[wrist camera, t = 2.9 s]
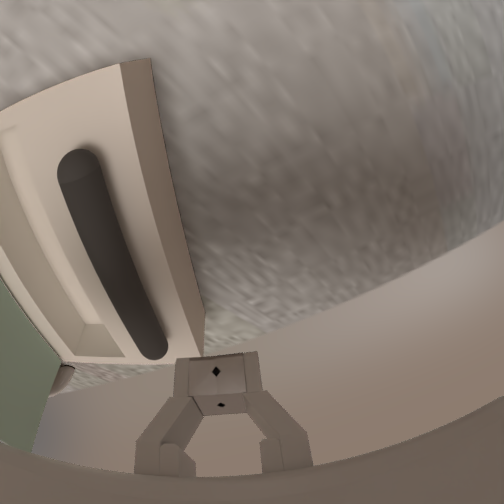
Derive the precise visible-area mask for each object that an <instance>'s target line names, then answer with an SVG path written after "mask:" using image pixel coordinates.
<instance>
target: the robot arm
mask: <svg viewBox="0 0 504 504" xmlns="http://www.w3.org/2000/svg"><path fill="white" fill-rule="evenodd" d="M238 413H247V414H248V415H249V416H250V418H251V419H252V420H253V422H254V423H255V424H256V425H257V426H258V428H259V429H260V430H261V431H262V432H263V434H264V435H265V436H266V437H267V439H263V440H262V441H261V442H260V453H261V463H262V472H263V473H262V474H252V475H239V476H221V477H196V463H195V461H193V460H192V459H191V458H190V457H189V456H188V455H187V454H186V453H185V452H184V450H185V448H186V446H187V445H188V443H189V441H190V439H191V438H192V436H193V434H194V433H195V431H196V429H197V428H198V426H199V424H200V422H201V420H202V419H203V416H209V415H222V414H238ZM0 504H504V396H501V397H499V398H497V399H495V400H493V401H492V402H490V403H488V404H486V405H484V406H482V407H481V408H479V409H477V410H475V411H473V412H471V413H469V414H467V415H465V416H463V417H461V418H459V419H457V420H455V421H452V422H450V423H448V424H446V425H444V426H441V427H439V428H437V429H434V430H432V431H430V432H427V433H425V434H422V435H419V436H417V437H414V438H412V439H409V440H407V441H403V442H401V443H398V444H395V445H392V446H389V447H386V448H383V449H379V450H376V451H373V452H369V453H366V454H363V455H359V456H355V457H351V458H347V459H343V460H339V461H334V462H330V463H326V464H321V465H315V466H313V461H312V457H311V451H310V446H309V440H308V435H307V432H306V431H305V430H304V429H303V428H302V427H301V426H300V425H299V424H298V423H297V422H296V421H295V420H294V419H293V418H292V417H291V415H290V414H288V412H286V410H285V409H284V408H283V407H282V406H281V405H280V404H279V403H278V402H277V401H276V400H275V399H274V398H273V397H272V396H271V394H270V393H269V392H268V391H266V390H265V391H263V389H262V382H261V375H260V366H259V358H258V352H257V351H254V352H246V353H244V354H243V353H234V354H226V355H217V356H206V357H188V358H177V359H176V362H175V375H174V391H173V397H170V398H169V399H168V400H167V401H166V403H165V404H164V405H163V407H162V408H161V409H160V411H159V412H158V413H157V415H156V416H155V417H154V419H153V420H152V421H151V422H150V424H149V425H148V427H147V428H146V429H145V430H144V432H143V433H142V434H141V436H140V437H139V438H138V439H137V441H136V451H135V466H134V474H132V473H124V472H116V471H109V470H103V469H97V468H91V467H86V466H80V465H76V464H72V463H67V462H63V461H59V460H54V459H51V458H47V457H44V456H40V455H36V454H33V453H30V452H27V451H24V450H21V449H18V448H15V447H12V446H9V445H6V444H4V443H1V442H0Z"/></svg>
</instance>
